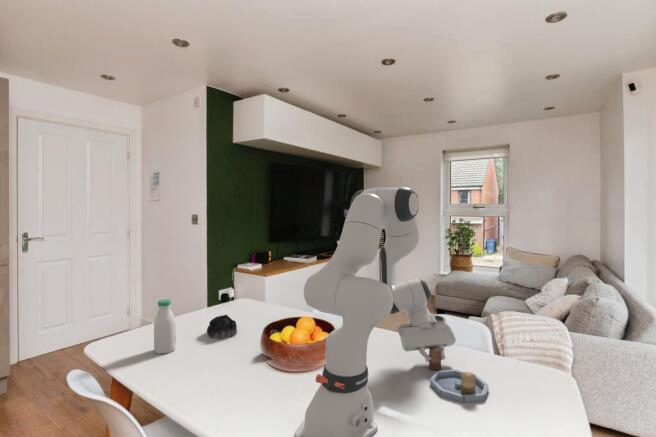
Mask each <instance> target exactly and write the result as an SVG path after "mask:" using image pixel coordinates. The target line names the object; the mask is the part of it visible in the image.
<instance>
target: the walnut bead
mask: <svg viewBox="0 0 656 437" xmlns="http://www.w3.org/2000/svg"><path fill="white" fill-rule="evenodd" d="M428 352H429V353H428V355H430V356H431V358H432V360H431V361H429V362H428V369H429V370H431V371H433V372H436V371H442V360H441V349H440V348H438V347H430V348H429V350H428Z"/></svg>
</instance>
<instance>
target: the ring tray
mask: <svg viewBox="0 0 656 437" xmlns="http://www.w3.org/2000/svg"><path fill="white" fill-rule="evenodd" d="M462 372H464V371H463V370H458V369H445V370H440V371H434V374H433V375H432V376H431V377H430V380H429V381H430V382H429V384H430V386H431V387H432V388H433V389H434V391H436V392H437V393H438V394H439V395H440V396H441V397H445V398H446V399H447V398H448V399H450V400H454V401H457V402H460V403H473V402H483V401H485V400H486V398H487V396H488V392H489V384H488V383H487V382H485V381H484V380H482V379H481V378H480V377H479V376H478V375H476V386H475V394H470V395H462V394H461V373H462Z"/></svg>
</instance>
